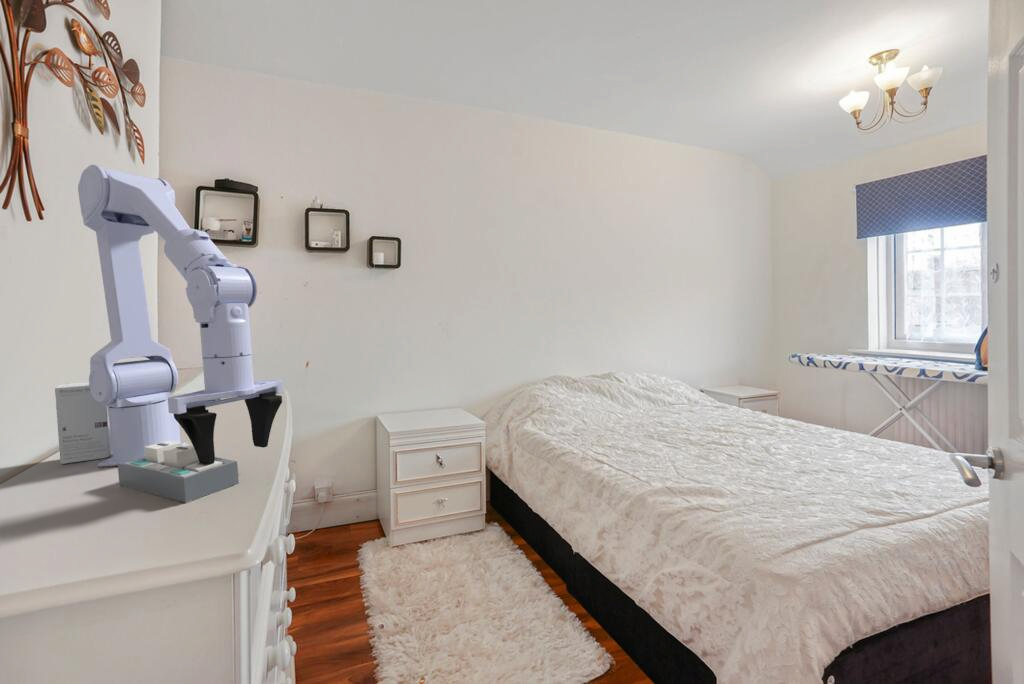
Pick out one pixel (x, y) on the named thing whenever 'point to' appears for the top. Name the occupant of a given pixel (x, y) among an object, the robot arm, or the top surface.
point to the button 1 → (158, 451)
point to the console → (177, 478)
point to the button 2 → (202, 466)
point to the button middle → (180, 456)
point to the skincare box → (81, 424)
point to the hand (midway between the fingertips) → (235, 454)
